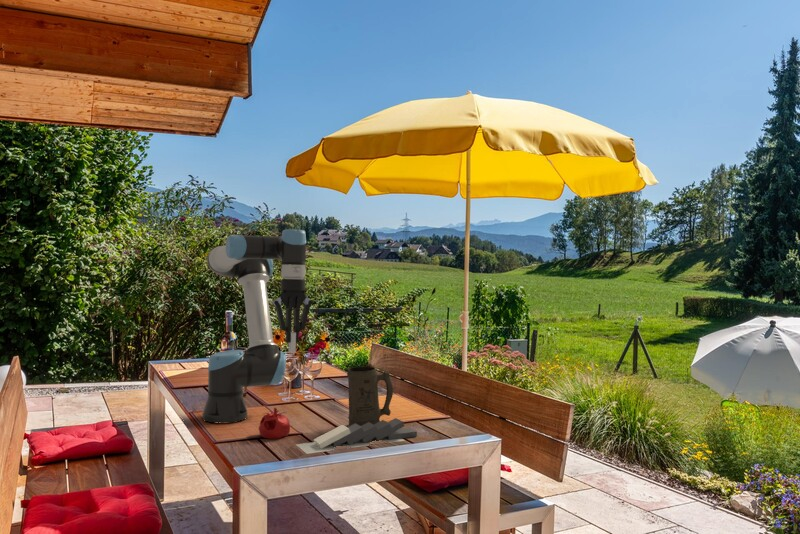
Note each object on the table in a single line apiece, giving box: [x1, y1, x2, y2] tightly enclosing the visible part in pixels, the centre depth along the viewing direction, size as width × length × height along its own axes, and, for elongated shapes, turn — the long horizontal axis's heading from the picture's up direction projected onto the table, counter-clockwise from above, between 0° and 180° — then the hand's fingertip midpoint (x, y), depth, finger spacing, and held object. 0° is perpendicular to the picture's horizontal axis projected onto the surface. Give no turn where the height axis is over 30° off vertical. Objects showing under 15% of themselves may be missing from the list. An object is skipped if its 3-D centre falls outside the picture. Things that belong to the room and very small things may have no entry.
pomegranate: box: [258, 407, 291, 440], centre depth 196 cm, size 10×10×9 cm
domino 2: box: [331, 423, 364, 447], centre depth 189 cm, size 2×5×10 cm
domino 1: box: [313, 424, 350, 449], centre depth 187 cm, size 2×5×10 cm
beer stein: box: [346, 366, 394, 427], centre depth 209 cm, size 15×11×20 cm
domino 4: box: [360, 419, 391, 443], centre depth 194 cm, size 2×5×10 cm
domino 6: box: [384, 427, 418, 440], centre depth 198 cm, size 2×5×10 cm
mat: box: [295, 438, 406, 455], centre depth 190 cm, size 32×10×1 cm, turn 118°
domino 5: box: [373, 417, 405, 441], centre depth 196 cm, size 2×5×10 cm
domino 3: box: [345, 422, 377, 445], centre depth 191 cm, size 2×5×10 cm
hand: (292, 352), depth 197 cm, fingers closed
